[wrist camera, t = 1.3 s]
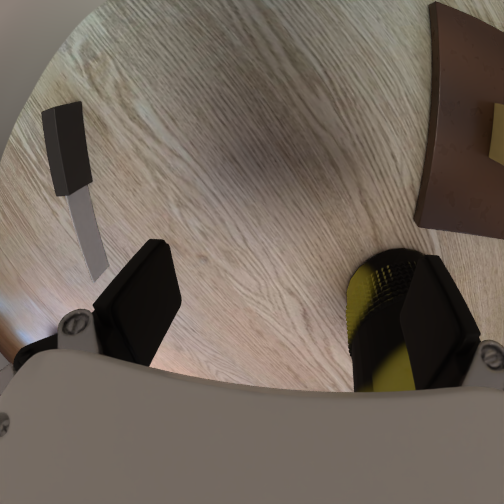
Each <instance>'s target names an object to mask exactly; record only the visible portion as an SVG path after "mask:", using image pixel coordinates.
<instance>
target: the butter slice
mask: <svg viewBox="0 0 504 504" xmlns="http://www.w3.org/2000/svg"><path fill="white" fill-rule="evenodd" d="M489 158H491V159H493V160H494V161H496V162H498V163H500V164H502V165H503V166H504V105H503V104H498V103H495V106H494V119H493V129H492V138H491V145H490V152H489Z"/></svg>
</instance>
